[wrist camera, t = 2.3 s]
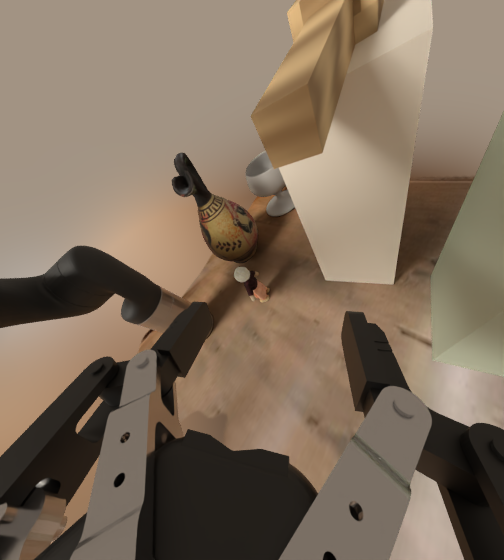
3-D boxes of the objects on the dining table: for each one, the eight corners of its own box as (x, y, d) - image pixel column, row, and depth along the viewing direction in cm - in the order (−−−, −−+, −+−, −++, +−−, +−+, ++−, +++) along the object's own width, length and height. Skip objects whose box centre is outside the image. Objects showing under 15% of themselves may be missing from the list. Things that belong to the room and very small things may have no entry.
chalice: (297, 216, 55) (277, 171, 44) (259, 221, 64) (235, 184, 53) (308, 184, 60) (293, 136, 49) (271, 192, 68) (252, 153, 57)
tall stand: (393, 284, 34) (433, 27, 10) (325, 280, 41) (259, 121, 18) (396, 226, 39) (429, -37, 15) (335, 231, 46) (294, 56, 22)
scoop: (353, 142, 9) (343, 20, 6) (254, 175, 13) (218, 107, 10) (384, -3, 17) (386, -88, 14) (318, 42, 20) (308, -18, 17)
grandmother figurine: (256, 286, 50) (229, 260, 41) (269, 281, 49) (244, 253, 39) (259, 312, 45) (230, 289, 36) (273, 307, 44) (246, 282, 35)
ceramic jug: (271, 257, 53) (197, 155, 31) (227, 278, 58) (137, 203, 36) (262, 221, 63) (201, 126, 41) (225, 242, 68) (154, 167, 46)
